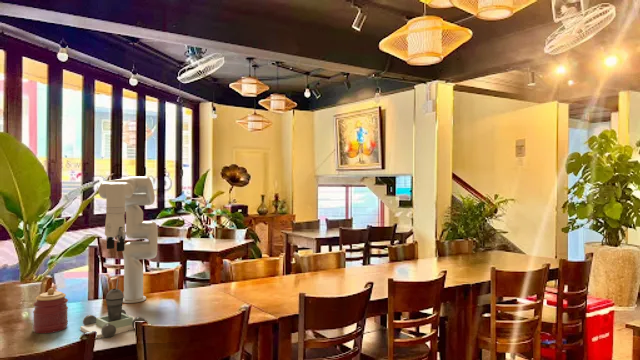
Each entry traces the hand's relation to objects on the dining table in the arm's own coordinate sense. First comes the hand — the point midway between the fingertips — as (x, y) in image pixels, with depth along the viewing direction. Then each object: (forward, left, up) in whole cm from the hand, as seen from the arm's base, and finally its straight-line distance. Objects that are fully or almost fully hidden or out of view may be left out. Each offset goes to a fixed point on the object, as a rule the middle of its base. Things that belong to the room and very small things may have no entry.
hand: (115, 249), depth 195 cm
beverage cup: (0, 0, -33) cm, 33 cm away
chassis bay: (0, 0, -34) cm, 34 cm away
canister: (-19, -19, -34) cm, 44 cm away
